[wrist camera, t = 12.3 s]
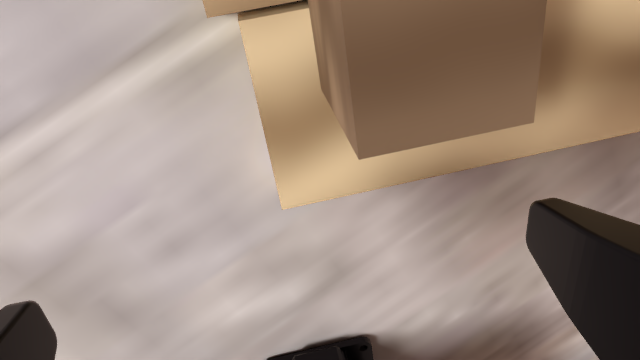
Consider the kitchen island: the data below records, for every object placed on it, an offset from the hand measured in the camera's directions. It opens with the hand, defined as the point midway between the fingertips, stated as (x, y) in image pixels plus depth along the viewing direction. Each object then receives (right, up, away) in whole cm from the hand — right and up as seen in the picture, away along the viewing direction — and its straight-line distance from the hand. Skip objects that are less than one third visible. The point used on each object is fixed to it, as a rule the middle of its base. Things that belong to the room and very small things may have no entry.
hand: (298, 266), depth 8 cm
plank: (+8, +7, +11) cm, 15 cm away
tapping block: (+3, +8, +8) cm, 11 cm away
